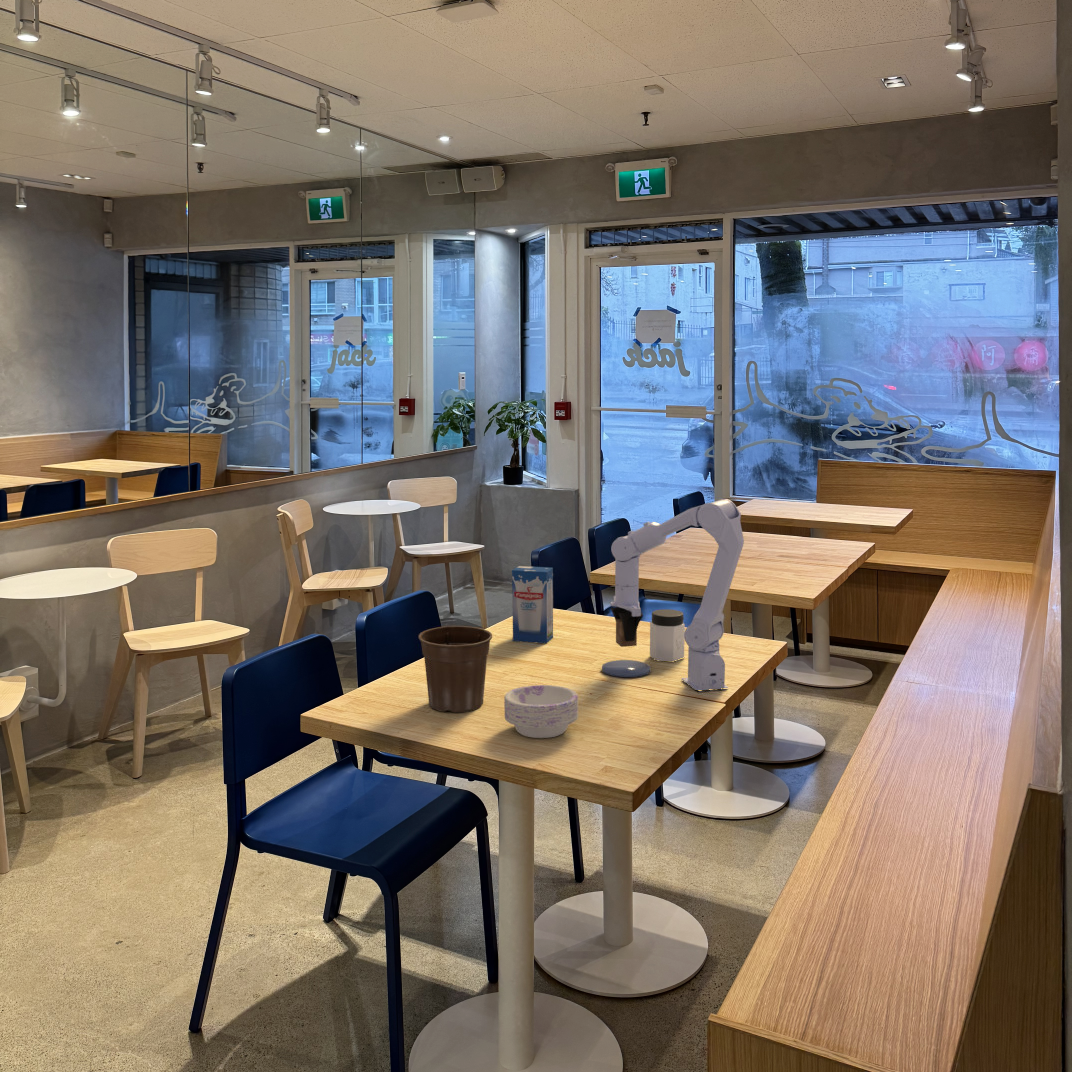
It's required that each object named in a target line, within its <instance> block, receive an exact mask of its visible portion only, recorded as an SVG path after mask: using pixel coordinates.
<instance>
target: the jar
mask: <svg viewBox="0 0 1072 1072" xmlns="http://www.w3.org/2000/svg"><path fill="white" fill-rule="evenodd" d="M684 617H685V616H684V613H683V612H682V611H680V610H677V609H671V608H670V609H668V608H666V609H657V610H653V611H652V612H651V621H650V622H649V627H650V628H649V657H650V656H651V657H650V658H651V659H653V658H654V659H655V660H659V661H658V662H661V661H675V660H678V659H680V658H683V657H684V658H685V638H684V634H685V630H686V625H685V623H684ZM654 659H653V660H654ZM655 660H654V661H655Z"/></svg>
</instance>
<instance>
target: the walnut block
mask: <svg viewBox="0 0 1072 1072" xmlns="http://www.w3.org/2000/svg"><path fill="white" fill-rule="evenodd" d="M637 637H638V631H636V635H635V639H634V641H625V638H624V630H623V624H622V621H621V619H616V620H615V644H616V645H618V646H620V647H622V648H623V647H635V646H636V647H637V644H638V643H637V639H638V638H637Z"/></svg>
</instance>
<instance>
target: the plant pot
mask: <svg viewBox="0 0 1072 1072" xmlns="http://www.w3.org/2000/svg"><path fill="white" fill-rule="evenodd" d="M492 638H493V633H492V632H490V631H489V630H487V629H485V628H480V627H475V626H464V625H447V626H439V627H438V626H437V627H434V628H429V629H426V630H423V631H422V632H420V633H419V634H418V639H419V641H420V644H421V652H422V656H423V658H424V666H425V675H426V677H425V678H426V686H427V695H428V705H429V707H430V708H432V709H433V710H435V711H438V712H443V713H446V712H447V711H450V712H452V713H453V714H456V713H457V714H458V713H467V711H468V712H473V711H475V710H478V709H480V708H481V707H482V705H483V704H484V697H485V696H484V694H485V687H486V686H485V684H486V683H485V682H486V672H487V661H488V660H487V659H488V655H489V653H490V644H491V640H492Z"/></svg>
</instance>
